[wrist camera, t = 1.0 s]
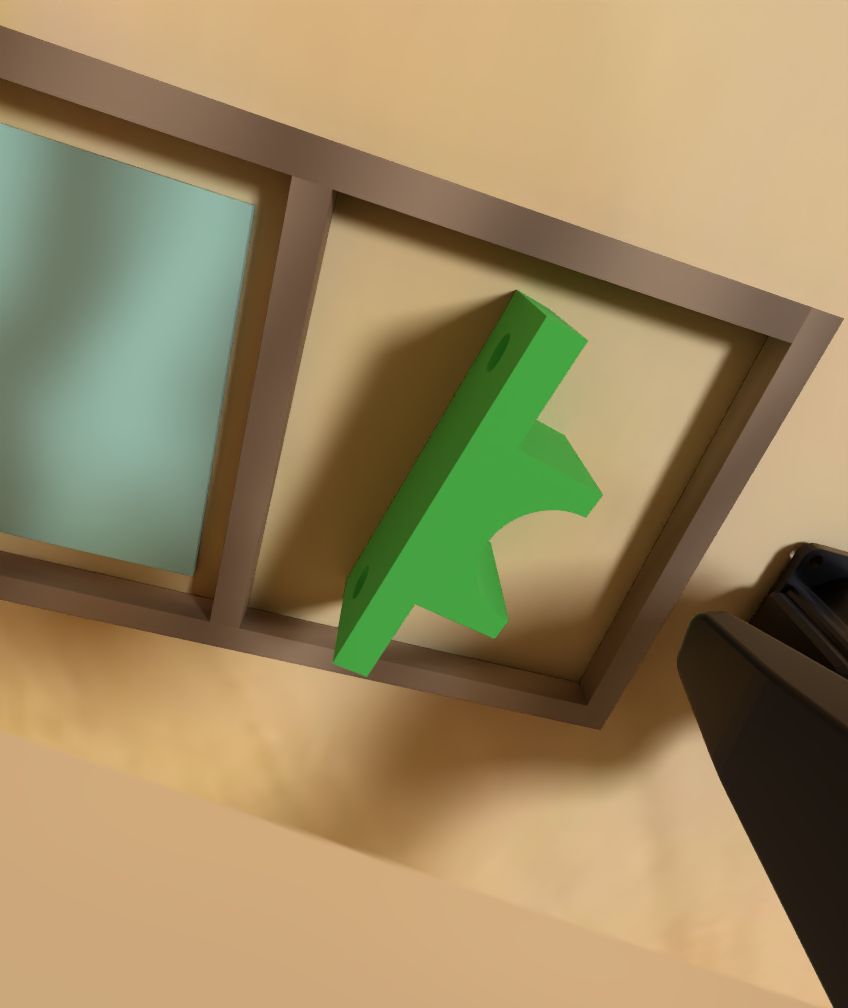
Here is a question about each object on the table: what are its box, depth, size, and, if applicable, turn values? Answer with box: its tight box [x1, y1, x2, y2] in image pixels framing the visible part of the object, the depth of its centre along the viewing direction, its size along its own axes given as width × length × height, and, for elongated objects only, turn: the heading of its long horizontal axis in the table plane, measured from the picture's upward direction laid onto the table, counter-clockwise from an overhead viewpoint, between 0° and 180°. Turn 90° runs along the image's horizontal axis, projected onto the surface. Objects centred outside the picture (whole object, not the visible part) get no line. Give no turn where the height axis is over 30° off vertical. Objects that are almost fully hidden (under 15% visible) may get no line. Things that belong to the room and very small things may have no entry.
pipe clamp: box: [333, 290, 603, 677], centre depth 18 cm, size 11×4×5 cm, turn 151°
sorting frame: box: [0, 26, 844, 730], centre depth 18 cm, size 29×16×1 cm, turn 73°
